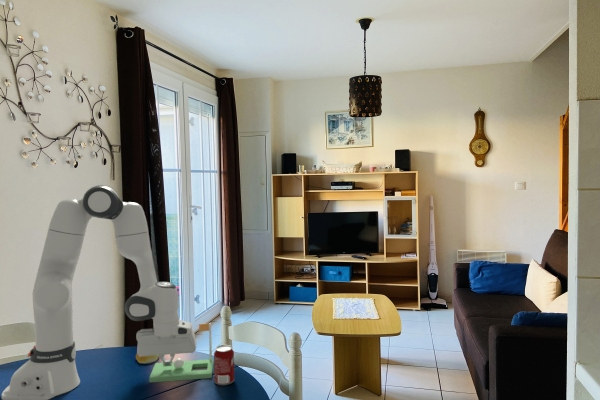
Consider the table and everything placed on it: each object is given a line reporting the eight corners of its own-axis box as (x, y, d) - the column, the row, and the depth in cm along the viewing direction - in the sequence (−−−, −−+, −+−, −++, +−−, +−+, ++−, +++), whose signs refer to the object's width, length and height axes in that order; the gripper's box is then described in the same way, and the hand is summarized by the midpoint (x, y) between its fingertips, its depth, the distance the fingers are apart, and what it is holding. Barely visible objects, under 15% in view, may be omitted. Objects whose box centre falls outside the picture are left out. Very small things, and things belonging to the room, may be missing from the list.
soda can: (230, 387, 144) (229, 352, 144) (211, 385, 146) (210, 351, 145) (237, 378, 151) (236, 344, 150) (218, 376, 152) (218, 343, 152)
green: (149, 382, 148) (148, 337, 148) (155, 367, 160) (154, 326, 159) (211, 377, 152) (210, 334, 151) (213, 363, 163) (212, 322, 163)
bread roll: (140, 366, 162) (140, 356, 161) (133, 358, 169) (133, 348, 169) (162, 360, 166) (162, 350, 166) (155, 353, 174) (154, 343, 173)
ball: (175, 359, 153) (184, 362, 154) (176, 355, 157) (186, 358, 158) (171, 368, 153) (181, 371, 154) (172, 364, 157) (182, 367, 158)
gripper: (134, 332, 150) (135, 371, 150) (194, 329, 153) (195, 367, 153) (138, 326, 156) (139, 364, 157) (196, 323, 159) (197, 359, 160)
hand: (167, 365), depth 155 cm, fingers closed
